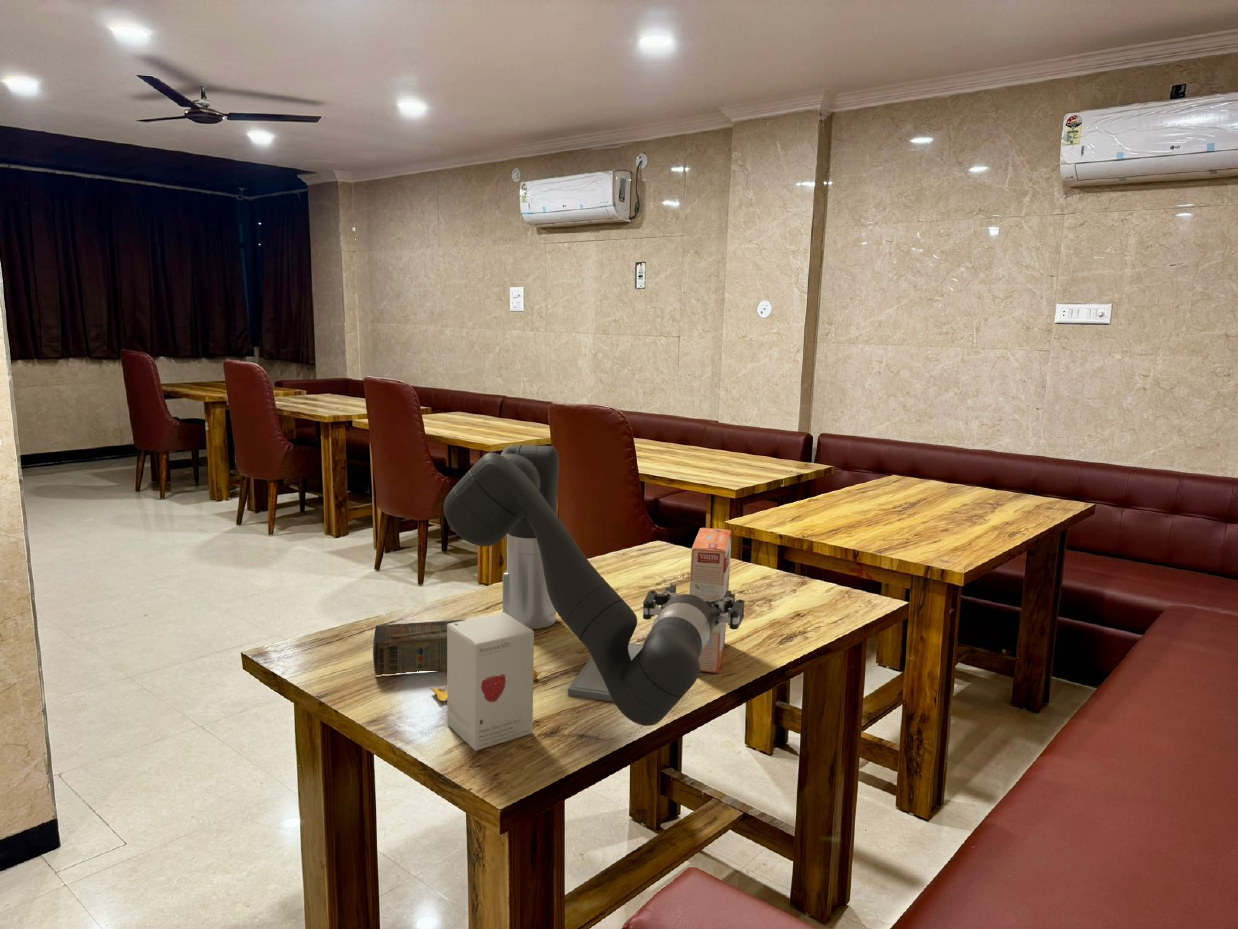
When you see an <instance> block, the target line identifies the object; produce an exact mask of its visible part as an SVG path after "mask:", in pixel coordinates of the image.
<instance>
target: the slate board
mask: <svg viewBox="0 0 1238 929" xmlns="http://www.w3.org/2000/svg"><path fill="white" fill-rule="evenodd" d="M642 648H643V644H639V643H638V644H637V643H631V642H629V645H628V651H629V655H630V658H631V661H632V659H633V658H634V657H635V656H636V655H637V654H638V652H639V651H640V650H641V649H642ZM567 696H570V697H571V696H572V697H579V698H583V699H585V698H586V699H593V700H600V701H605V702H613V703H614V701H613V699H612V697H611V696H610V693H609V691H608V689H607V687H606V685H605V683H604V680H603V678H602V676H601V674H600V672H599V670H598V668H597V666H596V664H595V662H594V660H593V658H592V656H591V657H590V658H589V660H588V661H587V662H586V664H585V665H584V666H583V667H582V669H581V670H580V672H579V673H578V675H577V676H576V677H575V679H574V680H573V682H572V683H570V686H569V687H568V688H567Z"/></svg>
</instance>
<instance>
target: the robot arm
mask: <svg viewBox="0 0 1238 929" xmlns="http://www.w3.org/2000/svg"><path fill="white" fill-rule="evenodd" d="M559 477H560V456H559V453H558V451H557V449H556V448H555V447H554V446H550V445H532V444H531V445H527V444H522V445H521V444H519V445H518V444H514V445H509V446H507V447H506V448H503V450H502V451H501V453H500V454H499V453H496V452H488V453H485V454H483V456H481V457H480V458H479V460H477V461H476V463H474V465H473V466H472V467H470V469H468V471H467V472H466V473H465V475H463V476H462V477H461V479H459V481H458V482H457V483H456V484H455V485H454V486H453V487H452V489H451V490H450V491H449V492H448V494H447V495H446V497H445V499H444V502H443V513H444V516H445V519H446V522H447V524H448V525H449V526H450V529H452V531H453V532H454V533H455V534H456V535H457V536H458V537H460V538H461V539H463V541H466V542H468V543H469V544H471V545H475V546H479V547H491V546H494V545H496V544H497V543H499V542H500V541H502V540H503V539H504V538H506V571H505V572H503V574H502V613H503V612H504V613H506V614H508V615H509V616H511V617H512V618H514V619H515V620H517V621H518V622H520V623H521V624H523V625H525V626H527V627H528V628H530V629H531V630H538V629H544V628H548V627H551V626H552V625H554V624H555V623H556V621H557V614H558V617H560V619H561V620H562V621H563V622H564V623H565V625H566V626H567V627H568V628H569V630H570V631H571V632H572V633H573V634H574V635H575V637H576V638H577V639H578V640H579V641H580V642H581V643H582V644H583V646H584V647H585V648H586V649H587V650H588V652H589V654H590V656H591V657H592V658H593V660H594V662H595V664H596V666H597V668H598V670H599V672H600V674H601V676H602V678H603V680H604V683H605V685H606V687H607V689H608V691H609V693H610V696H611V697H612V699H613V701H614V702H613V703H614V704H615V706H616V707H617V709H618V711H619V712H620V713H621V714H622V715H623V716H624V717H625V718H627V719H628V720H629V721H631V722H633V723H635V724H637V725H640V726H644V727H651V726H655V725H656V724H658V723H660V722H661V721H662V720H663V719H664V718H665V717H666V715H668V713H669V712H671V710H672V709H673V708H674V707H675V705H677V704H678V703H679V701H680V700H682V698H683V697H684V696H685V694H687V693H688V691H689V690H690V689H691V688H692V687H693V685H694V684H695V683H696V681H697V679H698V678H699V676H700V673H701V671H700V664H699V660H698V658H699V656H700V655H701V654H702V653H703V651H704V649H705V647H706V645H707V643H708V640H709V638H710V636H711V633H712V631H713V628H714V626H716V625H718V624H719V623H720V622H723V623H726V624H727V626H729V627H728V628H729V629H731V630H738V629H739V628H740V625H741V624H742V621H743V620H744V618H745V614H744V613H745V605H746V604H745V600H744V599H737V600H736V595H735V594H734V593H732V590H727V591H726V593H725V595H724V598H721V599H720V598H718V597H713V598H709V599H705V600H704V599H701V598H699V597H697V596H694V595H690V594H689V593H682V594H678V593H677V585H676V584H671V585H669V587H666V588H665V589H664V590H662V591H661V592H660V593H658V592H657V591H656V590H649V591H647V594H646V596H645V599H644V600H643V601H642V602H643V604H642V605H643V606H642V608H643V609H642V619H643V620H646V621H647V620H651V619H652V618H653V617H654V618H655V617H656V618H655V619H654V620H653V623H652V625H651V628H650V631H649V632H648V634H647V635H646V638H644V641H643V644H642V645H643V648H642V649H641V650H640V651H639V652H638V654H637V655H636V656H635V657H634V658H633V659H632V661H631V658H630V655H629V651H628V645H629V643H631V639H632V637H633V634H634V633H635V631H636V629H637V625H638V617H637V615H636V613H635V612H634V610H633V609H632V608H631V606H629V604H628V603H627V602H626V601H625V600H624V599H623V598H622V597H621V596H620V595H619V594H618V592H617V591H616V590H615V589H614V588H613V587H612V586H611V585H610V584H609V583H608V581H606V579H605V578H604V577H603V576H602V575H601V574H600V573H599V572H598V570H597V569H596V568H595V567H594V566H593V565H592V564H591V562H590V561H589V560H588V558H587V557H586V555H585V554H584V553H583V551H582V550H581V549H580V548H579V546H578V544H577V543H576V541H575V540H574V538H573V537H572V535H571V533H570V532H569V531H568V529H567V528H566V527H565V525H564V524H563V522H562V521H561V519H560V518H559V517H558V493H559V492H558V491H559V479H560V478H559ZM712 605H713V606H712ZM722 610H723V611H722Z"/></svg>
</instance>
